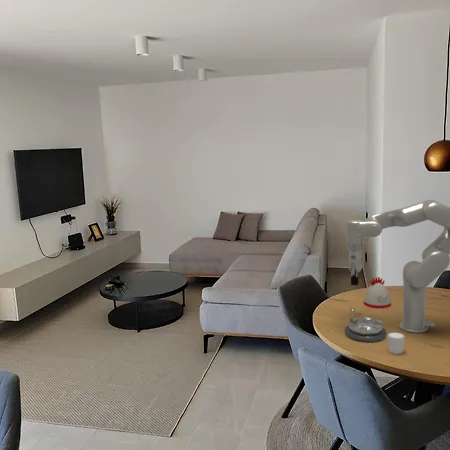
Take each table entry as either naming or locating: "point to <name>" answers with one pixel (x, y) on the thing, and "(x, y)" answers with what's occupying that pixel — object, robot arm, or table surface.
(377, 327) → the grey tabbed disc
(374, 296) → the white crested helmet
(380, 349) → the table surface
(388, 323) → the table surface
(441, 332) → the table surface
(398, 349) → the grey white-topped cylinder
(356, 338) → the dark grey round base
